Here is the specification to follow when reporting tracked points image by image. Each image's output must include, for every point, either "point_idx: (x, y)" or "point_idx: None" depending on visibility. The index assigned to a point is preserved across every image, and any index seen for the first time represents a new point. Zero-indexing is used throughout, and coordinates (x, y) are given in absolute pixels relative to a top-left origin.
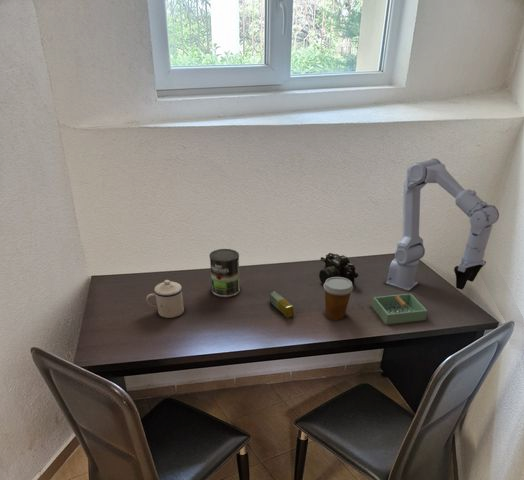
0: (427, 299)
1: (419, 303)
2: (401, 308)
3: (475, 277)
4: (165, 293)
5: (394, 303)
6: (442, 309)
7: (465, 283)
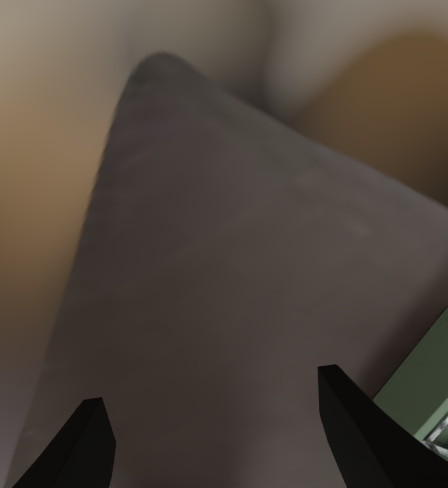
0: (235, 417)
1: (442, 414)
2: (441, 429)
3: (60, 430)
4: None
5: None
6: (267, 322)
7: (371, 411)
